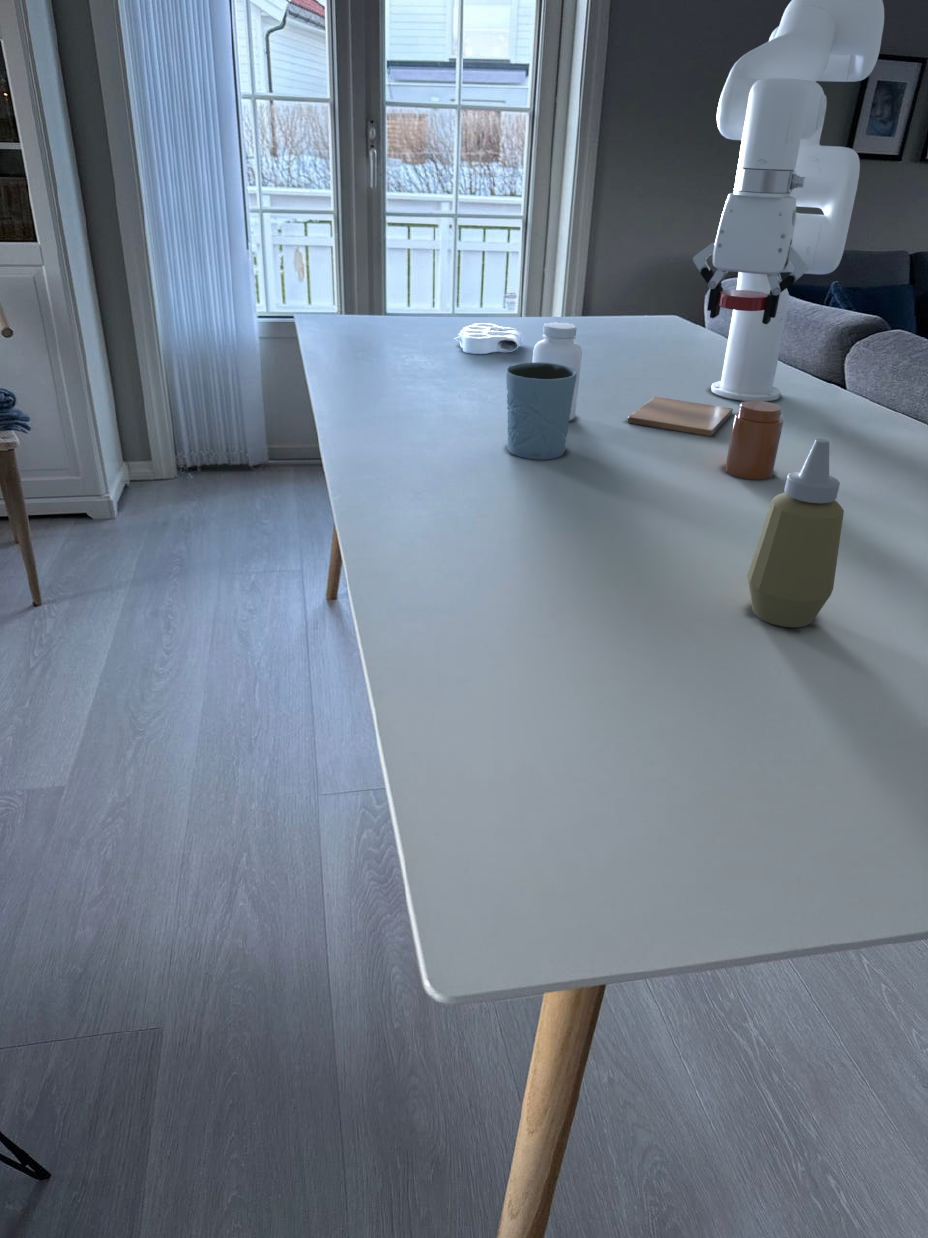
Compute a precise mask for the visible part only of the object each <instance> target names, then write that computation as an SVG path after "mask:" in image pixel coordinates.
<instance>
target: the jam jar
mask: <svg viewBox="0 0 928 1238" xmlns="http://www.w3.org/2000/svg"><path fill="white" fill-rule="evenodd" d="M738 407H739V411H738V412H736V413H735V414H734V418H733V423H732V424H733V425H732V429H731V434H730V440H729V445H728V451H727V456H726V463H725V467H724V470H725V473H727V474H728V475H731V476H733V477H736V478H741V479H744V480H756V481H760V480H767V479H770V478H772V476H773V474H774V469H775V464H776V459H777V455H778V450H779V446H780V445H779V444H780V440H781V436H782V430H783V425H784V418H783V417H782V414H783V407H782V406H780V405H779V404H777V403H773V402H770V401H766V402H763V401H742V402H741V403H740V404H739V406H738Z"/></svg>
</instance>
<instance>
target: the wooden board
mask: <svg viewBox="0 0 928 1238" xmlns="http://www.w3.org/2000/svg"><path fill="white" fill-rule="evenodd" d="M733 410H734V409H733V408H731V407H725V406H718V405H713V404H705V403H699V402H692V401H687V400H686V401H685V400H679V399H673V398H667V397H661V396H654V397H653V398H651V400H649V401H647V402H646V403H644V404H643V405H642V406H641V407H640V408H638V409H637V410H636V411H635V412H632V414H630V415H629V416H628V417H627V423H628V424H635V425H638V426H639V425H640V426H646V427H653V428H659V429H663V430H669V431H676V432H681V433H688V434H694V435H701V436H706V437H712V436H713V435H714V434H715V433H716V432H717V430H718V429H719V428H720V427H721V426H722V425H723V424H724V423H725V422H726V421H727V420H728V419H729V417H731V416H732V415H733Z"/></svg>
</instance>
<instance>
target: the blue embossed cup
mask: <svg viewBox="0 0 928 1238" xmlns="http://www.w3.org/2000/svg"><path fill="white" fill-rule="evenodd" d="M576 377H577V372H576V371H575V370H574V369H572V368H570V367H567V366H563V365H558V364H552V363H532V362H522V363H521V362H520V363H516V364H512V365H510V366H508V367H506V369H505V383H506V384H505V385H506V390H507V393H506V404H507V407H506V409H507V428H506V429H507V449H508V450H507V451H509V453H510V454H512V455H513V456H515V457H519V458H524V459H529V460H552V459H553V460H554V459H557V458H560V457H562V456H563V455H564V454H565V451H566V445H567V439H566V438H567V436H568V430H569V426H570V424H569V422H570V421H569V419H570V418H569V417H570V413H571V406H572V399H573V394H574V388H575V382H576Z"/></svg>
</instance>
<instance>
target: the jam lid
mask: <svg viewBox="0 0 928 1238" xmlns="http://www.w3.org/2000/svg"><path fill="white" fill-rule="evenodd" d="M767 295H768V294H766V293H762V292H757V291H749V290H736V289H723V291H720V295H719V297H718V306H720V308H723V309H728V310H732V311H733V310H741V311H762V310H764V309H765V304H766V298H767Z"/></svg>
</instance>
